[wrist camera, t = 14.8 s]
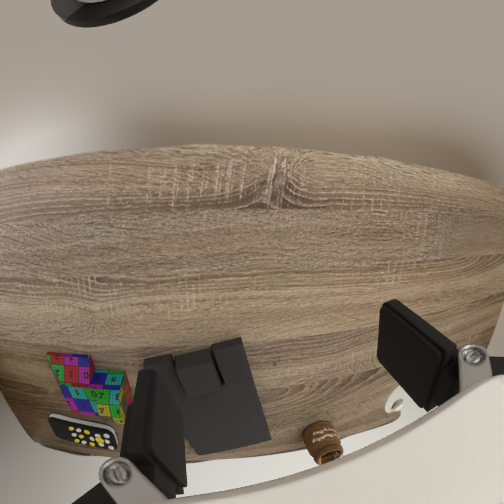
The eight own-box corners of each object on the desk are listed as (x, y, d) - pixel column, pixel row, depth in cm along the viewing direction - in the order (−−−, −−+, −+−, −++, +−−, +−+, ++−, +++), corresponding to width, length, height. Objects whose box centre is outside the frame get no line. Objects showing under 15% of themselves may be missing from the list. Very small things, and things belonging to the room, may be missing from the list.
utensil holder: (327, 436, 45) (351, 481, 34) (297, 442, 44) (317, 490, 33) (335, 417, 44) (362, 464, 32) (303, 423, 43) (326, 475, 31)
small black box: (175, 355, 34) (175, 370, 31) (209, 348, 35) (210, 362, 32) (188, 382, 36) (188, 397, 33) (219, 375, 36) (221, 390, 33)
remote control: (48, 410, 33) (45, 418, 31) (113, 424, 36) (111, 433, 34) (58, 431, 35) (55, 438, 33) (120, 444, 38) (118, 452, 36)
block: (120, 356, 33) (110, 389, 26) (134, 399, 35) (128, 432, 29) (47, 352, 31) (29, 380, 24) (65, 393, 33) (52, 423, 27)
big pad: (144, 358, 34) (143, 365, 32) (240, 337, 35) (242, 343, 34) (197, 449, 40) (198, 455, 39) (269, 433, 42) (271, 439, 40)
